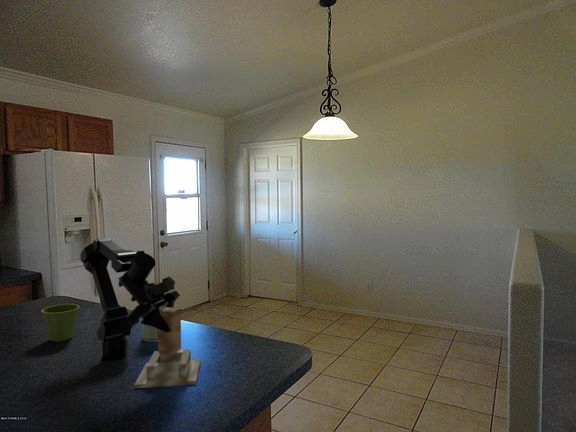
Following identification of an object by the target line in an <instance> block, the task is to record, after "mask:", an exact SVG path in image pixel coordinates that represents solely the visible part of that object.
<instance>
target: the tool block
mask: <svg viewBox="0 0 576 432" xmlns="http://www.w3.org/2000/svg"><path fill="white" fill-rule="evenodd" d="M191 357H192V354H191V349H190V348H189V349H180V350H179V351H177V352H176V353H175V354H173V355H169V354H160V353H159V350H154V352H153V353H152V355H151V357H150V359H149V360H148V362H146V363H145V364H144V367H143V369H142V370H141V372H140V374H139V375H138V377H137V379H136V381H135V383H134V385H133V386H134V387H133V388H134V389H143V388H144V389H146V388H147V389H148V388H161V387H174V386H177V387H178V386H188V385H189V386H192V385H196V384H197V382H198V376H199V371H200V367H201V361H202V360H201V359H199V358H198V359H192V358H191Z"/></svg>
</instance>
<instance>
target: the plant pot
mask: <svg viewBox="0 0 576 432" xmlns="http://www.w3.org/2000/svg"><path fill="white" fill-rule="evenodd" d="M80 307H81V306H80V305H79V304H77V303H76V304H75V303H64V304H56V305H50V306H46V307H44V308H43V309H42V310H41V313H43V317H44V320H45V324H46V329H47V334H48V339H49V341H50V342H55V343H59V342H64V341H65V342H66V341H68V340H70V339H72V338H73V335H74V329H75V325H76V318H77V315H78V310H79V308H80Z"/></svg>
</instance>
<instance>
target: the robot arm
mask: <svg viewBox="0 0 576 432" xmlns="http://www.w3.org/2000/svg"><path fill="white" fill-rule="evenodd" d="M79 258H80V261H81V263H82V264H83V267H84V269H85V270H86V271H87V272H89V273H90V274H91V275H92V278H93V281H94V284H95V287H96V290H97V295H98V297H99V300H100V304H101V305H100V306H101V307H102V311H103V313H102V316H101V318H100V325H99V327H98V329H97V331H96V334H97V339H98V340H99V341H101V343H102V345H101V346H102V347H101V348H102V356H101V357H100V360H101V361H107V360H108V361H110V360H122V359H123V358H124V357H125V356H126V354H127V353H128V352H129V351H128V349H129V347H128V346H129V345H128V339H127V338H126V337H127V336H131V330H132V326H135V325H137V324H138V323H140V324H141V325H142V324H146V325H149V326H152V327H155V328H157V329H160V330H162V331H165V332H167V333H168V332H170V328H169V326H168V325H167V323H166V322H165V321H164V319H163V318H162V316H161V315H160V310H162V309H164V308H166V307H173V308H175V307H174V305H175V302H176V301H177V299H179V297H180V296H181V294H180V293H179V292H178V291H177V290H175V284H176V281H175V280H174V279H173V278H172V277H171V276H170V275H169V276H166V277H164V278H162V280H161V281H162V282H159V283H157V284H155V283H154V282H151V283H149V281H148V280H147V278H148V277H149V276H150V275H151V273H152V271H153V269H154V268H155V266H156V259H155V258H154V257H152V255H150V254H148V253H146V252H145V250H137V251H134V250H132V249H131V250H129V249H124V248H122V247H120V246H119V245H118V244H117V243H115V242H114V241H113V240H112V239H111V238H109V237H107V238H105V237H103V238H96V239H94V240H93V241H92V243H90V244H88V245H86V246H85V247H84V248H82V251H81V253H80V257H79ZM109 263H110V264H111V266H110V267H111V268H112V269H113V270H114V272H115V273H117V274H119V273H123V275H122V276H119V277H118V287H119V288H121V287H124V288H125V290H127V292H128V293H129V294H130V295H131V296H132V297H131V298H130V301H131V302H137V304H138V305H136V306H135V307H134V308H133V310H131V312H129V313H130V314H128V308H127V307H126V306H125V305H124V306H121V305H120V304H119V302H118V301H119V300H118V298H117V295H116V291H115V289H114V286H113V282H112V278H111V276H110V273H109V269H108V265H109ZM140 318H141V322H140ZM142 319H143V320H142Z"/></svg>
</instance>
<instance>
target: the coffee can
mask: <svg viewBox="0 0 576 432" xmlns="http://www.w3.org/2000/svg"><path fill="white" fill-rule="evenodd" d="M142 320H143V319H142V318H141V321H142ZM141 325H142V326H141V327H142V328H141V329H142V340H143V341H145V342H147V343H149V342H150V343H151V342H152V343H153V342H154V343H155V342H158V329H157V328H155V327H152V326H149V325H146V324H141Z"/></svg>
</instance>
